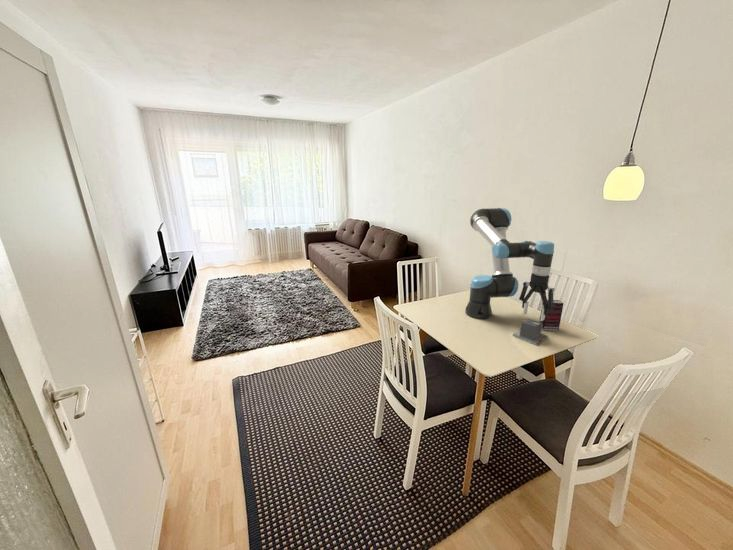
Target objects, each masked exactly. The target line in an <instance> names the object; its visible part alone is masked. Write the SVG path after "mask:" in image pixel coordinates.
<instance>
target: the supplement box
mask: <svg viewBox="0 0 733 550" xmlns="http://www.w3.org/2000/svg"><path fill="white" fill-rule="evenodd" d="M547 301H548V299H547ZM540 308H541V310H540V316H539V321H538V322H541V323H542V329H541V331H559V330H560V326H561V321H562V314H563V308H564V302H563V301H561V300H560V299H553V308H551V309H548V314H547V315H545V319H544V320H543V321H540V319H541V313H542V308H544V305H543V302H542V304H541V307H540Z"/></svg>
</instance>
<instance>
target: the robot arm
mask: <svg viewBox="0 0 733 550" xmlns="http://www.w3.org/2000/svg"><path fill="white" fill-rule="evenodd" d="M469 222H470V223H469V224H470V226H471V228H472V229H473V230H474V231H475V232H478V233H479V234H480V235H481V236H482V238H484V239H485V241H487V243H488V244H489V245H490V247H491V256H492V257H491V258H492V265H493V273H492V274H491V275H488V274H481V275H479V274H478V275H475V276H473V277H472V279H471V280H470V281H471V282H470V289H469V300H468V303H467V305H466V306H465V315H467V316H469V317H471V318H474V319H481V320H483V319H484V320H485V319H489V318H491V317H492V316H493V311H492V310H493V309H492V306H491V298H492V299H493V298H509V297H514V296H515V295H516V294H517V292H518V290H519V281H518V278H516V277H515V276H514V275H513V272H511V271H510V264H509V259H516V258H518V259H519V258H528V259H529V258H530V259H532V260H533V261H532V269H531V275H530V281H524V282H523V283H522V284H523V287H522V289H521V292H520V296H519V298H518V300H519V301H521V302H522V306H521V308H522V315H523V316H526V315H527V314H528V308H529V302H528V301H529V299H530V298H531V296H533V293H538V294H539V295H540V298H541V300H542V302H543V305H544V308H542V307H541V308H542V313H541V312H540V315H541V319H540V318H539V321H543V320H544V319H545V315H547V314H548V309H551V308H553V300H554V293H555V292H554V291H555V288H554V287H549V282H550V281H549V279H550V274H551V270H552V269H551V268H552V262H553V257H554V252H555V243H554V242H552V241H545V240H539V241H538V240H537V241H536V242H533V241H531V240H530V241H528V240H523V241H521V242H510V241H509V240H508V239H507V233H506V232H507V231H508V230H509V226H511V223H512V215H511V212H510V211H509V209H507V208H503V207H502V208H501V207H497V208H479V209H477V210H475V211H474V212H473V213H472V215H471V217H470V219H469ZM529 286H530V289H529V291H528V288H529ZM546 290H547V292H546ZM527 291H528V292H527ZM526 293H527V294H526ZM547 300H548V301H547Z"/></svg>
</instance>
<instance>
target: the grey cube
mask: <svg viewBox="0 0 733 550" xmlns="http://www.w3.org/2000/svg"><path fill="white" fill-rule="evenodd" d="M519 330H520V335H523V336H526V337H528V338H531V339H535V338H537V337H539V336H540V335H541V333H542V323H541V322H539V321H538V320H536V319H535V320H534V319H531V318H526V319H524V320H523V321H521V323H520V329H519Z"/></svg>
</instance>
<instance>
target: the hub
mask: <svg viewBox="0 0 733 550" xmlns="http://www.w3.org/2000/svg"><path fill="white" fill-rule="evenodd" d="M512 337H515V338H517V339H518V340H522V341H524V342H527V343H529V344H531V345H534V346H538V345H540V344H541V343H543V342H544V341H546V340H547V339H549V335H546V334H544V333H542V332H541V335H540V336H539V337H537V338H535V339H531V338H528V337H526V336H523V335H520V329H519V330H517V331H515V332H513V333H512Z"/></svg>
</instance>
